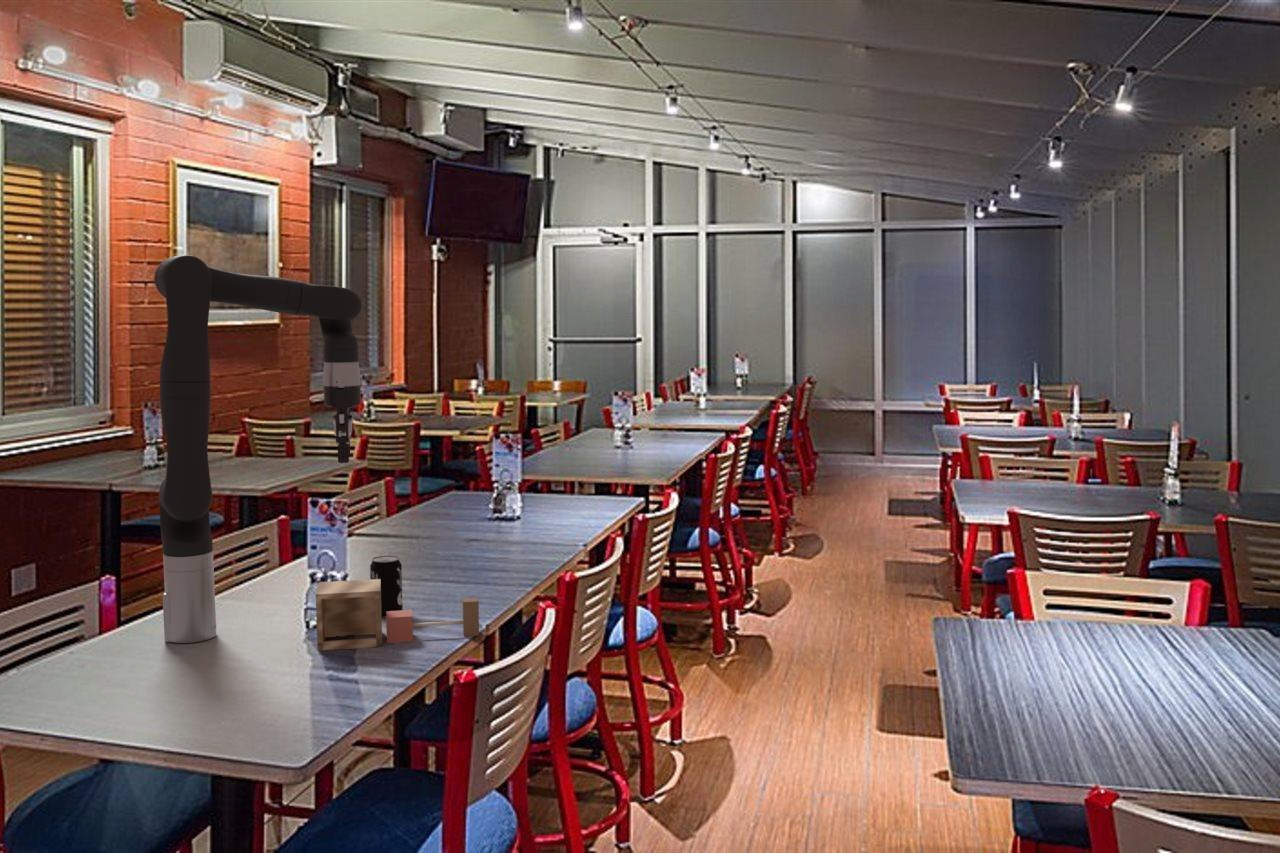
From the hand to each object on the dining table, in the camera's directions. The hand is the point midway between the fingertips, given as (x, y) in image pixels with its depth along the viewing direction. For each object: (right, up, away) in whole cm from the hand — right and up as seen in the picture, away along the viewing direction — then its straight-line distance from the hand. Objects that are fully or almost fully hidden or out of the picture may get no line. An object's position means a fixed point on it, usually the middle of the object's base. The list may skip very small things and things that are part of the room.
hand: (344, 459), depth 246 cm
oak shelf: (+6, -35, -18) cm, 40 cm away
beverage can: (+8, -33, +3) cm, 34 cm away
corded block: (+21, -35, -14) cm, 43 cm away
